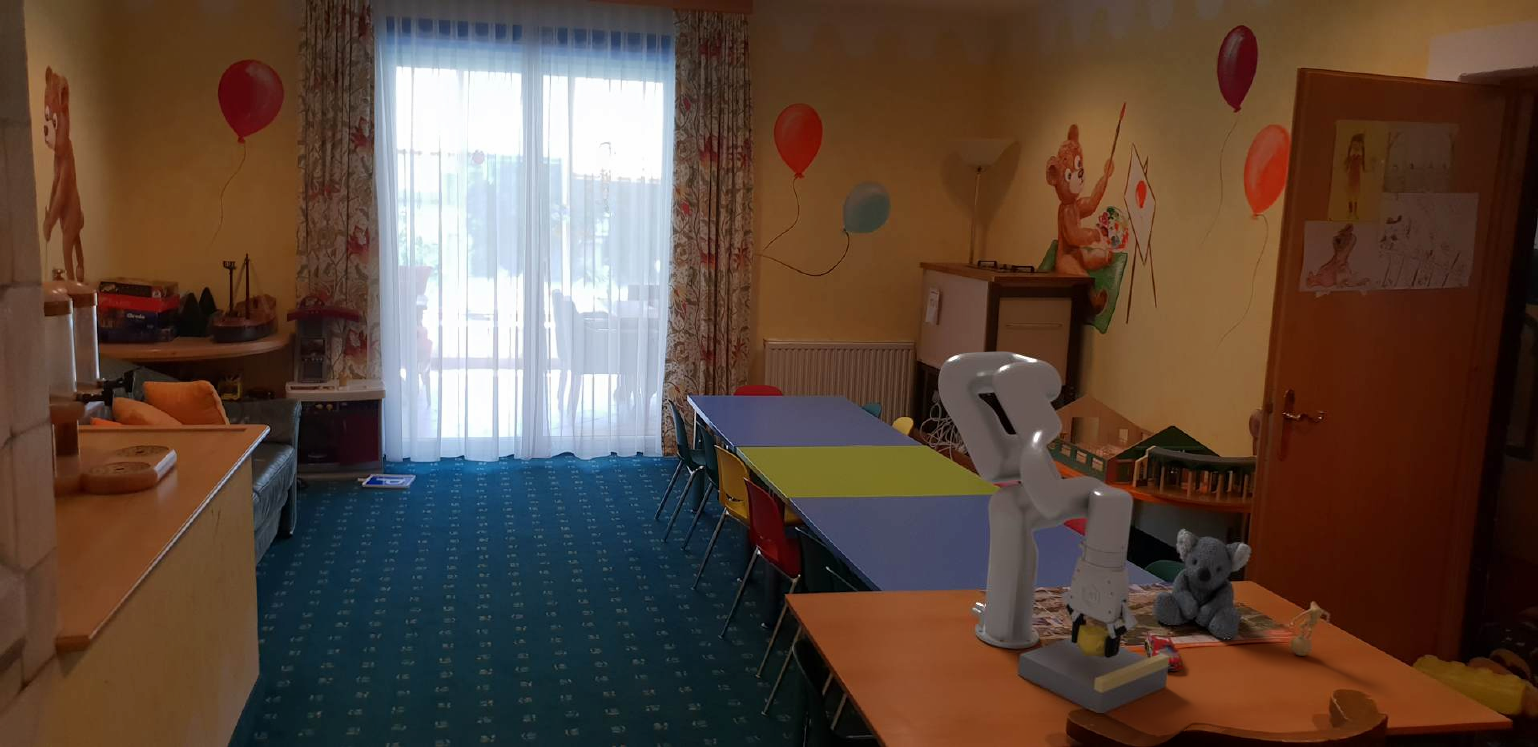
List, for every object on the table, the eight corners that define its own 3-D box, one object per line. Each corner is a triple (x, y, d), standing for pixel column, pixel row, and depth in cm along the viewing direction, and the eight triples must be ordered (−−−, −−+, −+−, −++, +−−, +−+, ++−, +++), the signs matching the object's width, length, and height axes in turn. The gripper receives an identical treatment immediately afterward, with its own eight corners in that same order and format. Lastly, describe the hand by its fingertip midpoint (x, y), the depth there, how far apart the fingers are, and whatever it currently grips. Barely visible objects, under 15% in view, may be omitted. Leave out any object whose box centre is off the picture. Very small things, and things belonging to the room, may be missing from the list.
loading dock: (1017, 674, 202) (1020, 644, 201) (1084, 651, 214) (1087, 622, 213) (1099, 714, 188) (1102, 681, 187) (1165, 686, 200) (1169, 656, 199)
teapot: (1118, 663, 196) (1121, 636, 195) (1087, 662, 196) (1090, 635, 195) (1102, 644, 204) (1105, 618, 203) (1072, 643, 204) (1075, 617, 203)
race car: (1182, 676, 206) (1184, 656, 205) (1152, 672, 207) (1154, 652, 206) (1170, 648, 219) (1173, 629, 218) (1142, 644, 220) (1144, 625, 219)
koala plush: (1148, 623, 231) (1158, 535, 227) (1167, 599, 246) (1177, 515, 242) (1235, 644, 222) (1247, 553, 218) (1249, 618, 237) (1261, 531, 234)
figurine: (1312, 650, 221) (1320, 594, 219) (1331, 663, 215) (1340, 605, 213) (1275, 651, 219) (1282, 594, 217) (1293, 663, 214) (1301, 606, 212)
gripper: (1052, 545, 202) (1043, 635, 205) (1133, 574, 188) (1122, 671, 191) (1077, 538, 206) (1068, 627, 209) (1158, 567, 193) (1147, 661, 196)
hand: (1094, 647), depth 200 cm, fingers closed on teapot, 6 cm apart
